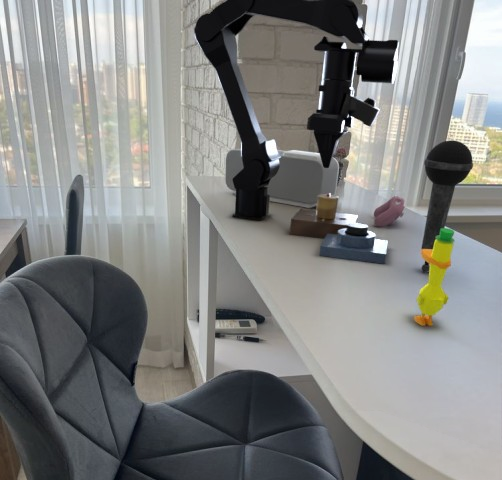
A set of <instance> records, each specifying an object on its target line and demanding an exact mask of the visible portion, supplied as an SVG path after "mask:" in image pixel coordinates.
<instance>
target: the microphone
mask: <svg viewBox="0 0 502 480" xmlns="http://www.w3.org/2000/svg"><path fill="white" fill-rule="evenodd" d="M423 164H424V170H425V174H426V176H427V178H428V179H429V181H430V182H431V183H432V186H431V190H430V196H429V201H428V202H429V203H428V207H427V214H426V219H425V226H424V232H423V237H422V241H421V242H422V243H421V247H420V249H433V247H434V242H435V240H436V238H435V237H436V236H437V235H440V229H442V228H446V224H447V220H448V216H449V212H450V208H451V203H452V200H453V196H454V192H455V189H456V186H457V185H459V184H460V183H462V182H463V181H464V180H466V179H467V177H468V176H469V174H470V173H471V170H473V167H474V163H473V155H472V152H471V150H470V148H469V147H468V146H467V145H466V144H464V143H463V142H461V141H458V140H454V139H453V140H452V139H451V140H450V139H449V140H444V141H442V142H439V143H438V144H436V145H435V146H433V147H432V148H431V150H430V151H429V152H428V154H427V156H426V158H424V162H423ZM421 271H422V272H423V273H428V272H429V271H430V264H429V263H428V262H426V261H425V260H424V264H422V266H421Z"/></svg>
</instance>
